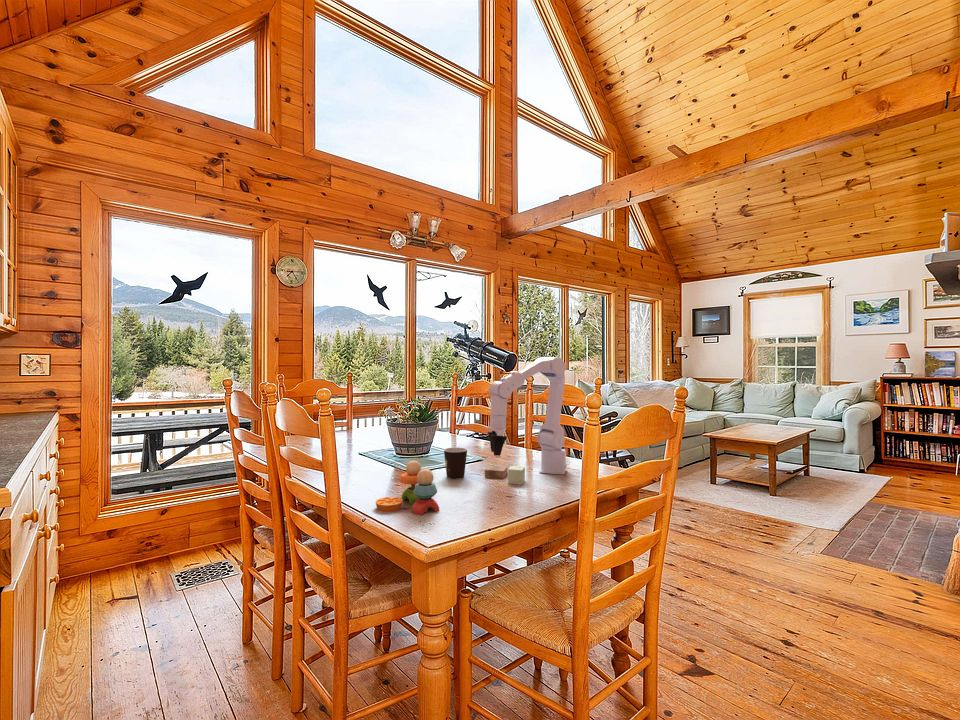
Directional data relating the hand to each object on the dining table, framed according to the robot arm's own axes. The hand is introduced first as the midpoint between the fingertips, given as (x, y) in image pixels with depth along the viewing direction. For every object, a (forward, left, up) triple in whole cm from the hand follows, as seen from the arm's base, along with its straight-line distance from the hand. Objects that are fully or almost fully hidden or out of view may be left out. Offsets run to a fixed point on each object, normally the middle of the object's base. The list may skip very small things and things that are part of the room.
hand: (495, 453), depth 172 cm
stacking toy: (+18, +34, -10) cm, 40 cm away
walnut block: (+2, -9, -10) cm, 14 cm away
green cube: (-7, -2, -10) cm, 13 cm away
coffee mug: (+16, -4, -10) cm, 19 cm away
